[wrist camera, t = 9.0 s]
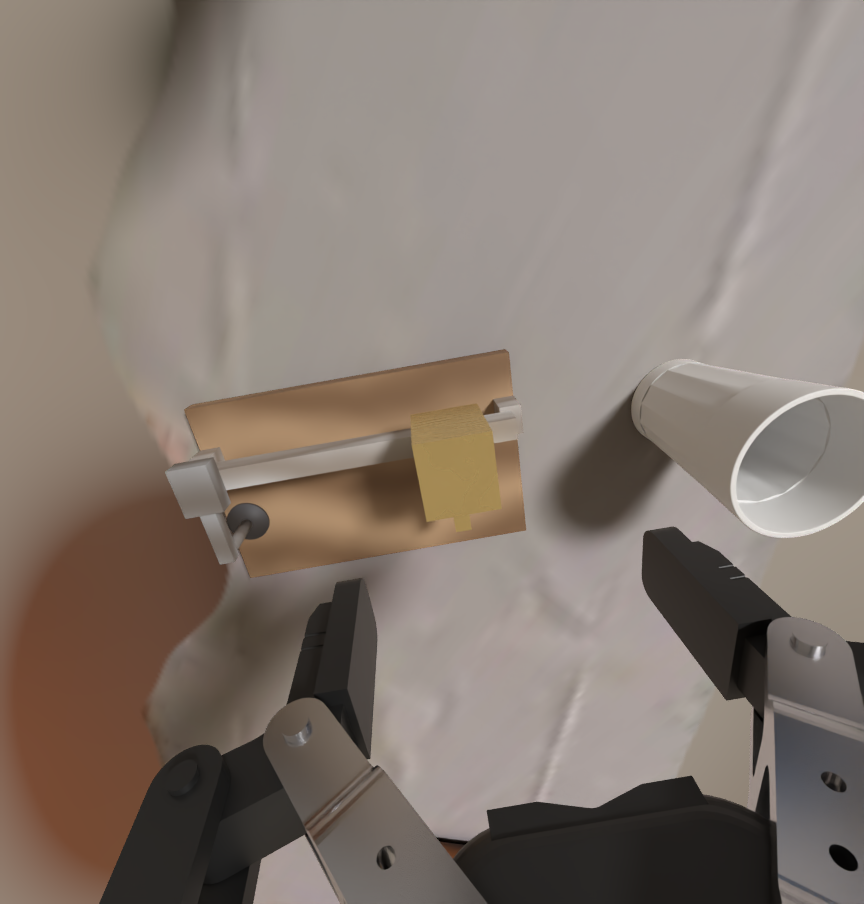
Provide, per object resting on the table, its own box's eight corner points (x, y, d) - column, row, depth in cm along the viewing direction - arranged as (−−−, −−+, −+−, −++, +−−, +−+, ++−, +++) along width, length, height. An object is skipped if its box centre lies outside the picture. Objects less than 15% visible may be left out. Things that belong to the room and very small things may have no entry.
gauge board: (191, 404, 31) (143, 434, 25) (505, 349, 31) (528, 366, 25) (255, 568, 36) (227, 624, 30) (522, 522, 36) (544, 569, 30)
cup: (737, 422, 34) (901, 496, 23) (638, 469, 35) (748, 561, 24) (712, 326, 31) (886, 357, 20) (605, 380, 32) (713, 438, 21)
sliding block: (409, 398, 30) (411, 445, 22) (468, 388, 30) (492, 431, 22) (428, 499, 33) (437, 574, 25) (482, 490, 33) (508, 561, 25)
